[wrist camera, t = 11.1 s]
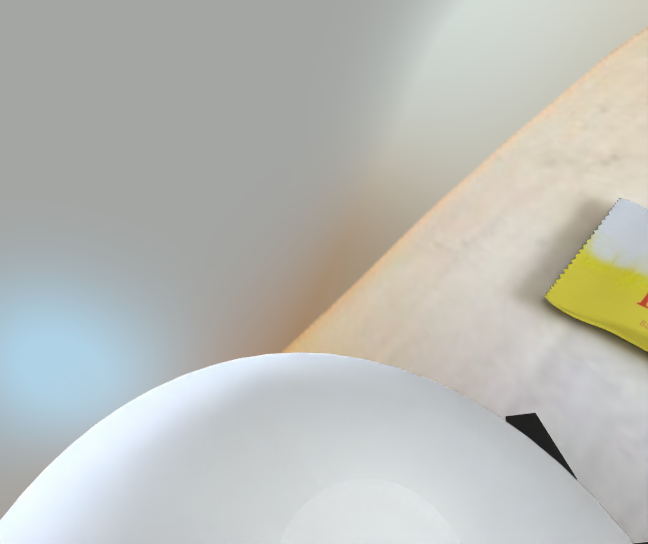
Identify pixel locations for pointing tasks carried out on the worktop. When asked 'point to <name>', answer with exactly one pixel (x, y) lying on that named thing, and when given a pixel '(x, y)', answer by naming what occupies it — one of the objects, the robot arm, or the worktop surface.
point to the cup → (305, 466)
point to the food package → (610, 276)
